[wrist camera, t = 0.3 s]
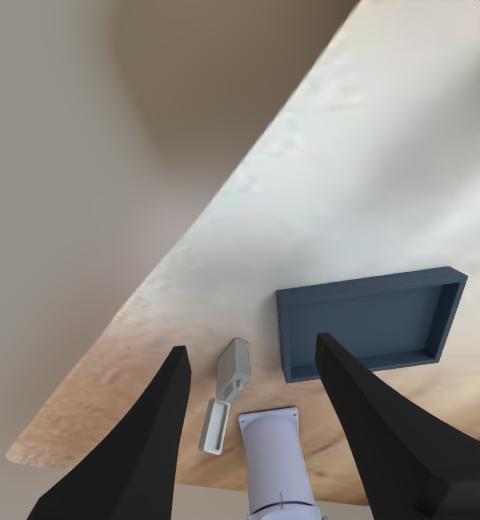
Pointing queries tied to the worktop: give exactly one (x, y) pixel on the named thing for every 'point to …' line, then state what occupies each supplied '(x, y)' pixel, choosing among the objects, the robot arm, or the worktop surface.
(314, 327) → the tray
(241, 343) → the lighter
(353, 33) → the worktop surface
